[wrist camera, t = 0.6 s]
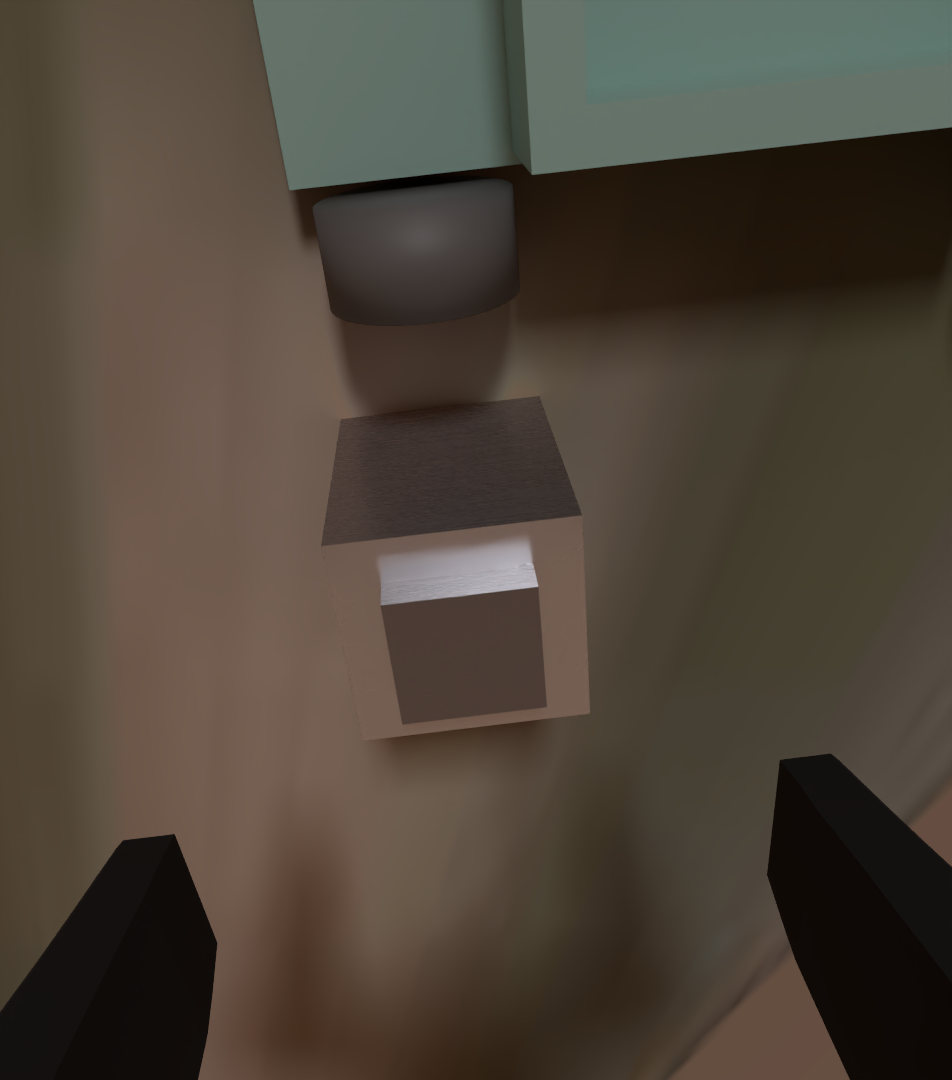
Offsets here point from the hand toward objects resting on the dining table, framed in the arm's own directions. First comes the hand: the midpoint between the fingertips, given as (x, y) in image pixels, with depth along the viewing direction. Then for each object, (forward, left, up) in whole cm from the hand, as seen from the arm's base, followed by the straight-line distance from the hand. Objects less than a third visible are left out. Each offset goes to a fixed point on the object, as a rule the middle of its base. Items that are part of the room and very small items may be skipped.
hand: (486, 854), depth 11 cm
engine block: (0, 0, -9) cm, 9 cm away
